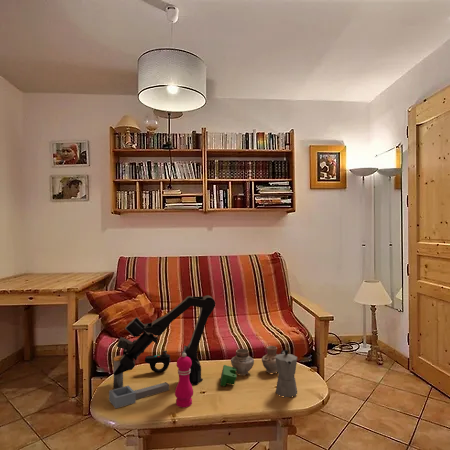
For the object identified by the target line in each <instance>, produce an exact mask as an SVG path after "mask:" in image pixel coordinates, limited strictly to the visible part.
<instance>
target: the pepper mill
mask: <svg viewBox="0 0 450 450" xmlns="http://www.w3.org/2000/svg"><path fill="white" fill-rule="evenodd" d="M191 365H192V361H191V359H190V358H189V357H187V356H186V353H183V354H182V353H181V356H180V357H178V358H177V360H176V367H177V374H178V378H179V379H178V382H177V384H176V387H175V389H174V390H175V391H174V396H175V397H176V399H175V406H177V407H178V408H188V407H190V406H192V404H193V398H192V397H193V395H194V389H193V384H191V383H190V380H189V374H190V370H191V369H190V367H191Z"/></svg>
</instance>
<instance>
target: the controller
mask: <svg viewBox="0 0 450 450" xmlns="http://www.w3.org/2000/svg"><path fill="white" fill-rule="evenodd" d="M167 352H168V351H167V350H162V354H157V355H155V354H154V355H146V356H145V357H144V362H145V364H149V367H150V369H151V371H152V372H153V373H156V374H162V373H164V372H166V370H167V369H168V368H169V366H170V363H171V354H168V353H167ZM158 363H162V364H163V366H162V367H161V368H157V366H156V365H157V364H158Z"/></svg>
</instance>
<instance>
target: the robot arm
mask: <svg viewBox="0 0 450 450" xmlns="http://www.w3.org/2000/svg"><path fill="white" fill-rule="evenodd" d="M190 307H197V308H199V314H198V315H199V316H198V318H197V320H196V323H195V326H194V330H193V333H192V335H191V339H190V342H189V343H188V344H187V345H183V351H182V352H181V355H182V354H183V353H186V356H187V357H189V358H190V359H191V361H192V365H191V367H190V369H191V370H190V374H189V380H190V383H191V385H192V386H193V385H194V386H196V385H198V384H200V383H201V382H202V381H203V379H204V378H202V365H201V363H200V362H201V361H200V359H199V358H198V348H199V344H200V341H201V339H202V336H203V333H204V330H205V327H206V324H207V321H208V318H209V316H210V315H211V314H212V312H213V311H214V309H215V307H216V301H215V299H214V298H213V297H212V296H211V295H208V294H207V295H204V296H192V295H188V296H186V297H185V298H184V299H183V300H182V301H181V302H180V303H178V304H177V305H176V306H175V307H174V308H172V309H171V310H170V311H169V312H168V313H166V314H165V315H162V316H159V318H156V319H155V320H153V321H152V322H148V323H144V322H143V321H141V320H140V319H139V317H137V316H135V318H134V319H132V320H130V321H129V323H128V324H127V325H126V326H125V327H124V329H125V330H126V331H127V333H130V335H131V336H133V337H134V338H137V339H134V340H133V341H131V340H130V339H128V338H125V337H121V336H120V337H119V340H118V342H117V344H116V347H117V348H119V349H120V348H121V349H122V355H121V356H122V358H121V359H120V365H119V366H118V368H117V369H116V370H115V372H114V371H113V374H112V375H113V376H114V375H118V374H120V373H123V374H124V373H125V372H128V371H132V370H134V368H135V365H136V361H137V360H138V357H140V355H142V354H144V352H145V350H146V349H147V348H148V347H149V346H150V345H151V344H152V343H153V342H154V343H155V345H157V344H158V339H159V336H161V335H162V334H163V333H164V332H165V331H166V330H167V329H168V327H169V326H170V325H171V323H172V322H174V321H175V320H176V319H177V318H178V317H180V316H181V315H182V314H183V313H184V312H186V311H187V310H188V309H189V308H190Z"/></svg>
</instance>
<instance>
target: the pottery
mask: <svg viewBox="0 0 450 450" xmlns="http://www.w3.org/2000/svg"><path fill="white" fill-rule="evenodd" d="M277 350H278V347H277V346H275V345H269V346H268V345H267V346H266V351H267V354H265V355H263V356H262V357H261V363H262V366H263V367H264V369H265V373H266V372H268V373H276V372H277V365H276V358H275V357H276V356H277V355H278V353H277ZM249 354H250V350H248V349H246V348H238V349H236V350H235V356H233V357H232V358H231V359H230V364H231V367H234V368H236V375H238V374H239V375H240V376H247V375H249V372H250V371H251V370H252V368H254V367H253V366H254V364H255V360H254V358H253V357H252V356H250V355H249ZM268 373H267V374H268ZM246 374H247V375H246ZM276 374H277V373H276ZM239 375H238V376H239Z"/></svg>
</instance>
